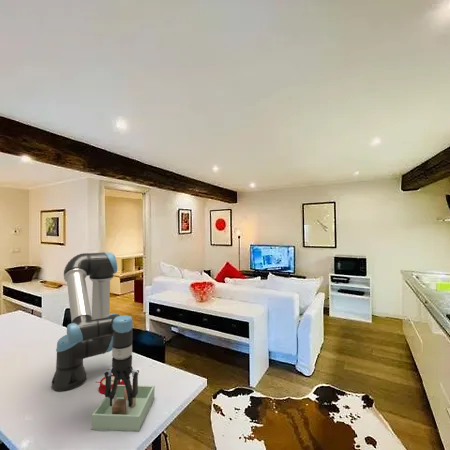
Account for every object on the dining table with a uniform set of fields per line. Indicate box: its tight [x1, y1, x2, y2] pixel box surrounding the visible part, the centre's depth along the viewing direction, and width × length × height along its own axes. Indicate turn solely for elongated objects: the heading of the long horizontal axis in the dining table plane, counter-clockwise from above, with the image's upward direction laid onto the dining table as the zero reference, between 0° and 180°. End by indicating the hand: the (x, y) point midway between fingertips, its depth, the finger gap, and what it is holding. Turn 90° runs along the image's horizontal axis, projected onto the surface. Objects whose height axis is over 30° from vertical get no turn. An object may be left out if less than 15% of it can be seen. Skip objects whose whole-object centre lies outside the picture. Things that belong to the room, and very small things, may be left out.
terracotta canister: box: [124, 384, 136, 409], centre depth 113 cm, size 5×5×7 cm
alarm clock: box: [95, 374, 125, 395], centre depth 125 cm, size 10×6×15 cm
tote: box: [90, 384, 156, 432], centre depth 109 cm, size 19×20×6 cm
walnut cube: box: [112, 399, 126, 415], centre depth 104 cm, size 5×5×5 cm
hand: (121, 413), depth 105 cm, fingers closed on walnut cube, 5 cm apart
